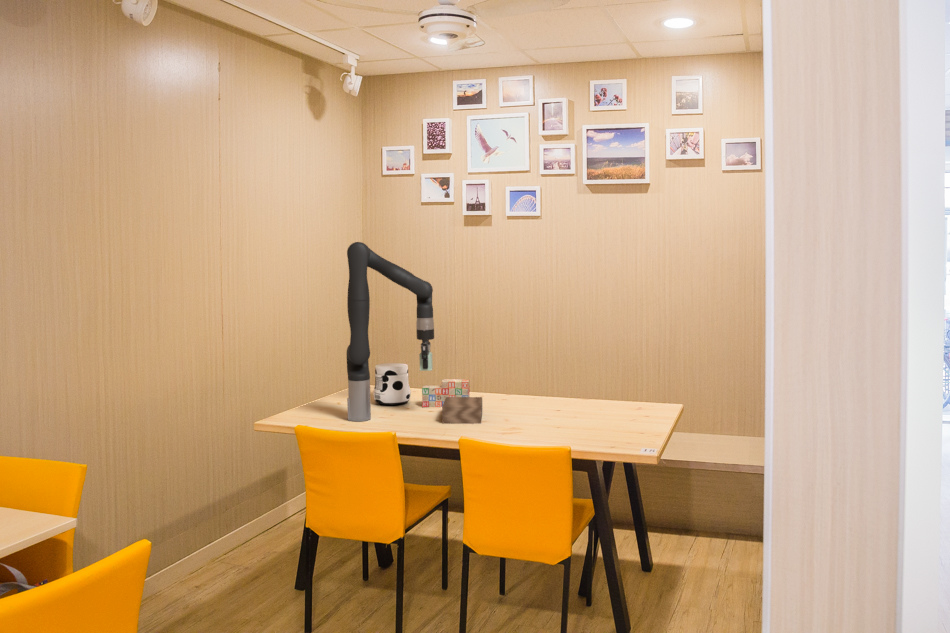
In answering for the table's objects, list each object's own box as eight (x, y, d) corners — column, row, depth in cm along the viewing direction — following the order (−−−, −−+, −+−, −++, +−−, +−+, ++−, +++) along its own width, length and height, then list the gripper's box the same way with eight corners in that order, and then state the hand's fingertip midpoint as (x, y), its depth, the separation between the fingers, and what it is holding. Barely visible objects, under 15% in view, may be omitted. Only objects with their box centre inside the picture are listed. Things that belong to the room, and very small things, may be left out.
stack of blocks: (422, 408, 345) (421, 381, 343) (424, 405, 351) (423, 378, 350) (468, 408, 343) (468, 381, 342) (469, 405, 349) (469, 379, 348)
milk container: (414, 399, 362) (413, 362, 361) (406, 407, 345) (405, 368, 344) (379, 399, 365) (378, 362, 363) (369, 406, 348) (368, 368, 346)
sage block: (419, 370, 321) (419, 354, 321) (421, 368, 326) (420, 352, 325) (431, 370, 321) (431, 354, 320) (432, 368, 326) (432, 352, 325)
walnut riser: (442, 423, 313) (442, 406, 313) (446, 412, 333) (445, 397, 333) (481, 423, 313) (480, 406, 312) (482, 412, 333) (482, 397, 332)
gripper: (418, 326, 329) (419, 365, 331) (414, 330, 315) (415, 370, 316) (435, 326, 329) (436, 364, 330) (432, 329, 315) (433, 370, 316)
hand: (426, 367), depth 323 cm, fingers closed on sage block, 5 cm apart
